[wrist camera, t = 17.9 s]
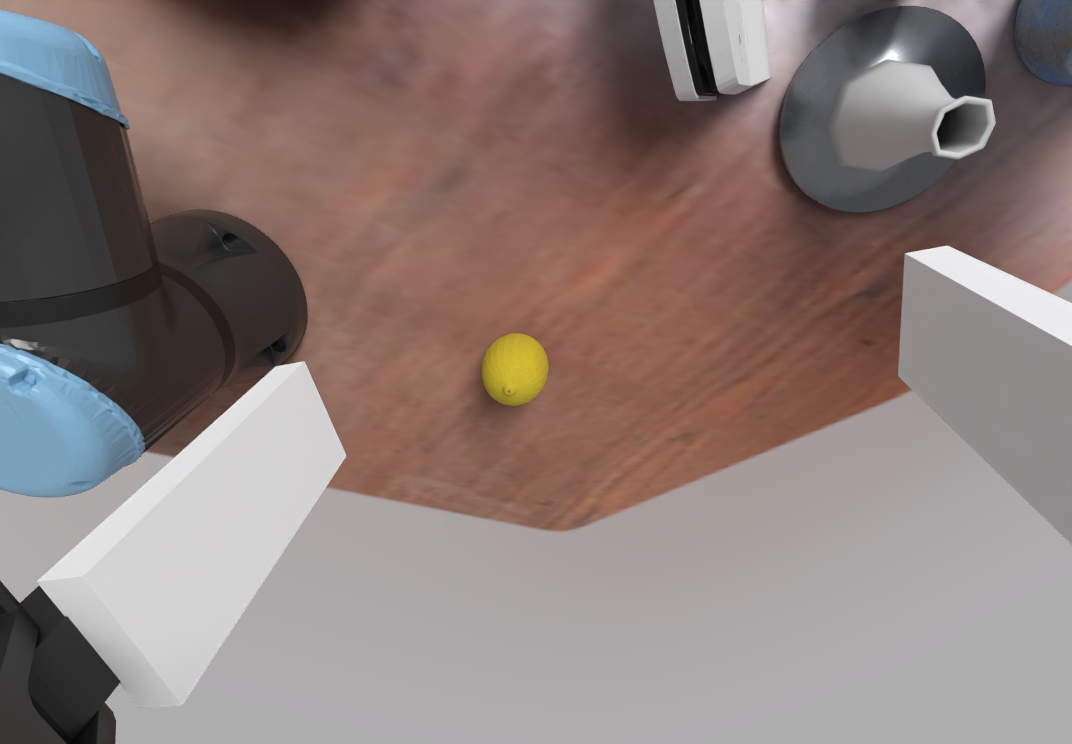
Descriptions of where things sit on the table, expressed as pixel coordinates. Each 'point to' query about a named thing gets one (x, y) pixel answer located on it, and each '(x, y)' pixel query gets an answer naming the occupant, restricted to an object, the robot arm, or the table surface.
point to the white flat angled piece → (714, 46)
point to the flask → (904, 118)
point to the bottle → (1046, 39)
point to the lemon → (514, 369)
